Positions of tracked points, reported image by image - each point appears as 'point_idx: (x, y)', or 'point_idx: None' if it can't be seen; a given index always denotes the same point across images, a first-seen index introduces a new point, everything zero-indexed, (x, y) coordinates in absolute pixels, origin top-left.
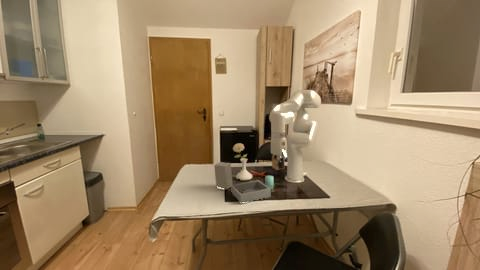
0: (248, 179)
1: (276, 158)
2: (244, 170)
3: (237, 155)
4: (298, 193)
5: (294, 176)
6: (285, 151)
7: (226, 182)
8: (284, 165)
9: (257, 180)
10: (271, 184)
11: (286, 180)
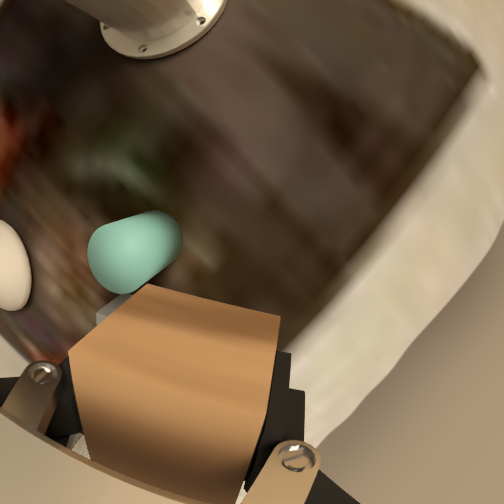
0: (30, 272)
1: (98, 425)
2: None
3: None
4: (346, 145)
5: (177, 10)
6: None
7: (79, 438)
8: (276, 345)
9: (98, 320)
10: (168, 254)
11: (141, 58)
